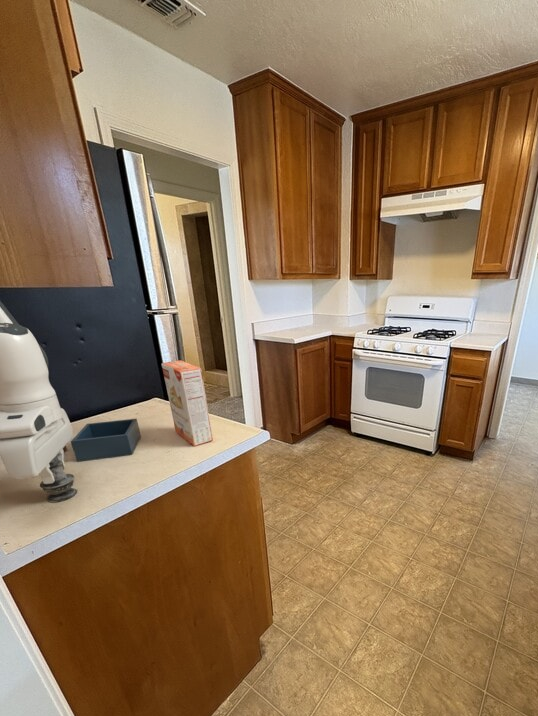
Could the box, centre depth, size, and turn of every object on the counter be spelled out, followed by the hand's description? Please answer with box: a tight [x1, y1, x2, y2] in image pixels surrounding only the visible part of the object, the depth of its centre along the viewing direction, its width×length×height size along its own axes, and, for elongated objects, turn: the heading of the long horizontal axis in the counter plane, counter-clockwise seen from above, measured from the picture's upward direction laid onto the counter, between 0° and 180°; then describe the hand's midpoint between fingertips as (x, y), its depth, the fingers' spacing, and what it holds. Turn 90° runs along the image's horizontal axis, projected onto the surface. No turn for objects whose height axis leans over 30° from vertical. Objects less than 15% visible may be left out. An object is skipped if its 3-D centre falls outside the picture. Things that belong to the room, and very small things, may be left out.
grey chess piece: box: [39, 455, 78, 503], centre depth 72 cm, size 6×6×12 cm
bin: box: [70, 418, 142, 463], centre depth 94 cm, size 13×13×6 cm
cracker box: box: [161, 359, 214, 447], centre depth 97 cm, size 14×6×21 cm, turn 41°
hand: (55, 476), depth 72 cm, fingers closed on grey chess piece, 3 cm apart
